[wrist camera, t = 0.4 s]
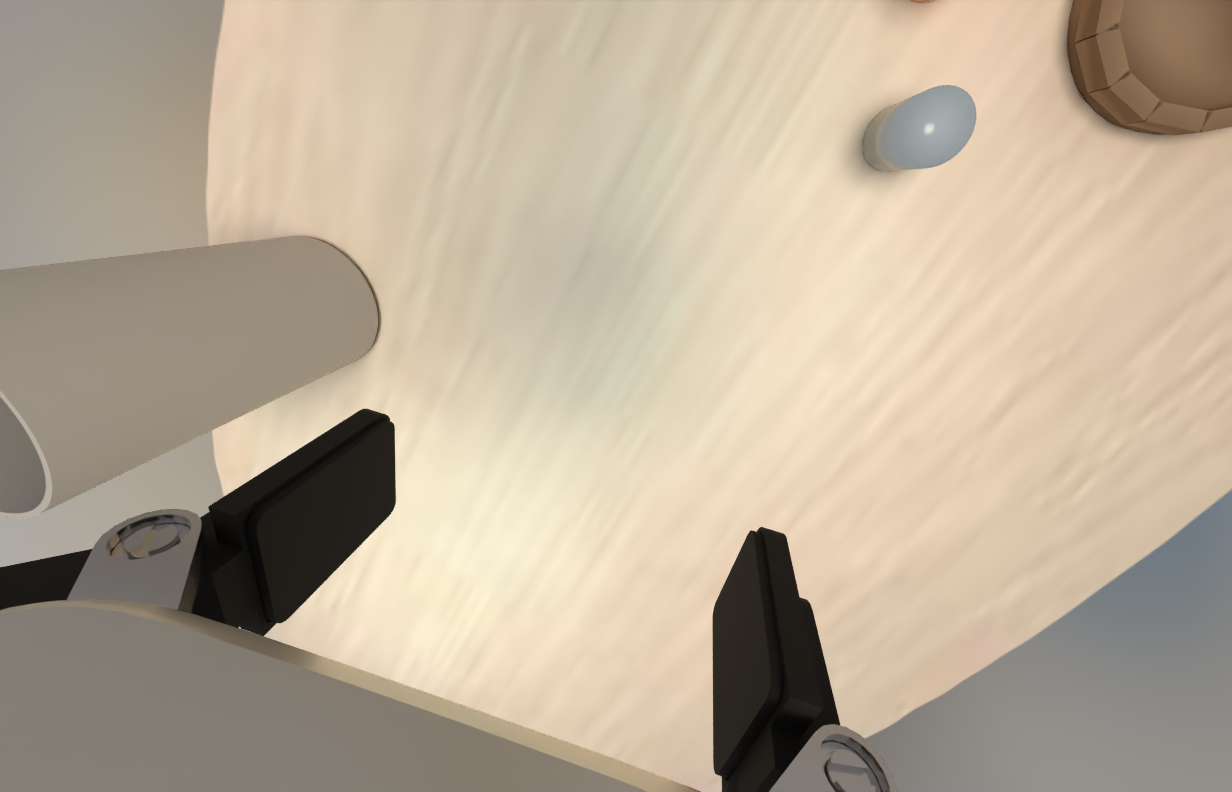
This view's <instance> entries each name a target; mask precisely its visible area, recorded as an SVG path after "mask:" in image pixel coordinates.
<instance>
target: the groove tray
mask: <svg viewBox="0 0 1232 792" xmlns="http://www.w3.org/2000/svg"><path fill="white" fill-rule="evenodd" d="M1068 55H1069V60H1070V66H1071V71H1072V74H1073V77H1074V80H1075V82H1076V85H1077V87H1078V89H1079V91H1080V92H1081V94H1082V96H1083V97H1084V99H1085V100H1086V102H1087V103H1088V104H1089V105H1090V106H1091V107H1092V108H1093V109H1094V110H1095V111H1096V112H1097V113H1098V114H1100V115H1101V116H1102V117H1104V118H1105V119H1106V120H1108V121H1110V122H1112V123H1114V124H1116V125H1118V126H1121V127H1124V128H1127V129H1131V130H1134V131H1138V132H1146V133H1154V134H1162V133H1166V134H1171V135H1179V134H1188V133H1197V132H1204V131H1209V130H1215V129H1220V128H1226V127H1231V126H1232V0H1074V2H1073V7H1072V11H1071V15H1070V23H1069V32H1068Z"/></svg>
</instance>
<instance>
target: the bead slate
mask: <svg viewBox="0 0 1232 792" xmlns="http://www.w3.org/2000/svg"><path fill="white" fill-rule="evenodd" d="M975 122H976V108H975V104H974V101H973V99H972V98H971V96H970V95H969V94H968V93H967V92H966V91H965V90H963V89H961V88H959V87H956V86H952V85H942V86H937V87H933V88H931V89H928V90H926V91H924V92H922V93H919V94H917V95H915V96H913V97H911V98H908V99H906V100H904V101H902V102H899V103H897V104H895V105H893V106H891V107H888V108H887V109H885V110H883V111H882V112H880V113H879V114H878V115H877V116H876V117H875V118H874V119H873V120H872V121H871V123H870V124H869V126H868V127H867V130H866V132H865V134H864V138H863V144H862V148H863V154H864V157H865V159H866V161H867V162H868V164H869V165H870V166H871V167H873V168H875V169H877V170H879V171H885V172H889V171H900V170H911V169H922V168H931V167H935V166H938V165H941V164H943V163H945V162H947V161H948V160H950V159H952V158H953V157H954V156H955V155H957V154H958V153H959V152H960V151H961V150H962V148H963V147H964V146H965V145H966V143H967V142H968V140H969V139H970V137H971V135H972V132H973V130H974V127H975Z"/></svg>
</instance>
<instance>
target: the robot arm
mask: <svg viewBox="0 0 1232 792" xmlns="http://www.w3.org/2000/svg"><path fill="white" fill-rule="evenodd" d="M395 502H396V488H395V428H394V424H393V423H392V422H390V418H389V417H388V416H387V415H386V414H382V413H379V412H376V411H372V410H369V409H362V410H360V411H358V412H357V413H355V414H354V415H352V416H350V417H349V418H347V419H346V420H344V421H343V422H341V423H339V424H338V425H336V426H335V427H333V428H332V429H330V430H328V431H327V432H325V433H324V434H322V435H321V436H319V437H317V438H316V439H314V440H313V441H311V442H309V443H308V444H306V445H305V446H303V447H302V448H300V449H298V450H297V451H295V452H294V453H292V454H291V455H289V456H287V457H286V458H284V459H283V460H281V461H280V462H278V463H276V464H275V465H273V466H272V467H270V468H269V469H267V470H265V471H264V472H262V473H261V474H259V475H258V476H256V477H254V478H253V479H251V480H250V481H248V482H247V483H245V484H243V485H242V486H240V487H239V488H237V489H235V490H234V491H232V492H231V493H229V494H228V495H226V496H224V497H223V498H221V499H220V500H218V501H217V502H215V503H213V504H212V505H210V506H209V511H210V512H209V513H207V514H205V515H204V516H202V517H201V518H199V517H198V515H197V514H195V513H193V512H190V511H188V510H180V509H165V510H158V511H153V512H148V513H144V514H141V515H138V516H136V517H133V518H130V519H127V520H126V521H124V522H122V523H120V524H118V525H116V526H114V527H113V528H111V529H110V530H109V531H107V532H106V533H105V534H103V535H102V536H101V538H100V539H99V540H98V542H97V543H96V544H95V546H94V548H93V549H90V550H85V551H80V552H75V553H70V554H65V555H60V556H55V557H50V558H46V559H40V560H35V561H30V562H26V563H20V564H15V565H10V566H6V567H0V792H700V791H698V790H695V789H693V788H691V787H688V786H686V785H683V784H680V783H678V782H675V781H672V780H670V779H667V778H664V777H662V776H659V775H656V774H654V773H651V772H648V771H646V770H643V769H640V768H638V767H635V766H632V765H630V764H627V763H624V762H622V761H619V760H616V759H614V758H611V757H608V756H605V755H602V754H600V753H597V752H594V751H591V750H588V749H586V748H583V747H580V746H577V745H574V744H571V743H569V742H566V741H563V740H560V739H557V738H555V737H552V736H549V735H546V734H543V733H540V732H538V731H535V730H532V729H529V728H526V727H524V726H521V725H518V724H515V723H512V722H509V721H507V720H504V719H501V718H498V717H495V716H492V715H490V714H487V713H484V712H481V711H478V710H475V709H472V708H470V707H467V706H464V705H461V704H458V703H455V702H452V701H450V700H447V699H444V698H441V697H438V696H435V695H432V694H429V693H427V692H424V691H421V690H418V689H415V688H412V687H409V686H406V685H404V684H401V683H398V682H395V681H392V680H389V679H386V678H383V677H381V676H378V675H375V674H372V673H369V672H366V671H363V670H360V669H357V668H354V667H351V666H349V665H346V664H343V663H340V662H337V661H334V660H331V659H328V658H325V657H322V656H319V655H316V654H313V653H311V652H308V651H305V650H302V649H299V648H296V647H293V646H290V645H287V644H284V643H281V642H278V641H275V640H272V639H270V638H267V637H264V635H265V634H266V633H267V632H268V631H269V630H270V629H271V628H272V627H273V626H274V625H275V624H276V623H282V622H284V621H286V620H287V619H288V618H289V617H290V616H291V615H292V614H293V613H294V612H295V611H296V610H297V609H298V608H299V607H300V606H301V605H302V604H303V603H304V602H305V601H306V600H307V599H308V598H309V597H310V596H311V595H312V594H313V593H314V592H315V591H316V590H317V589H318V588H319V587H320V586H321V585H322V584H323V583H324V582H325V581H326V580H327V579H328V577H329V576H330V575H331V574H332V573H333V572H334V571H335V570H336V569H337V568H338V567H339V566H340V565H341V564H342V563H343V562H344V561H345V560H346V559H347V558H348V557H349V556H350V555H351V554H352V553H353V552H354V551H355V550H356V549H357V548H358V547H359V546H360V545H361V544H362V543H363V542H364V541H365V540H366V539H367V538H368V537H369V536H370V535H371V534H372V533H373V532H374V531H375V530H376V529H377V528H378V526H379V525H380V524H381V523H382V522H383V521H384V520H385V519H386V518H387V517H388V516H389V515H390V514H391V512H392V511H393V509H394V507H395ZM239 626H240V627H241V629H239V628H238V627H239ZM242 629H244V630H242ZM245 630H247V631H245ZM248 631H250V632H248ZM251 632H253V633H251ZM254 633H256V634H254ZM257 634H259V635H257ZM713 762H714V771H715V774H717V775H720V776H722V792H899V790H898V787H897V784H896V781H895V779H894V776H893V774H892V772H891V771H890V769H889V767H888V765H887V764H886V762H885V760H884V759H883V758H882V756H881V755H880V754H879V753H878V752H877V751H876V749H875V748H874V747H873V746H872V745H871V744H870V743H869V742H867V741H866V740H865V739H864V738H863V737H862V736H860V735H859V734H858V733H856V732H854V731H852V730H850V729H849V728H847V727H844V726H840V722H839V718H838V714H837V709H836V705H835V701H834V697H833V693H832V689H831V685H830V681H829V676H828V672H827V668H826V664H825V660H824V656H823V652H822V647H821V643H820V639H819V635H818V631H817V627H816V623H815V619H814V614H813V610H812V608H811V605H810V603H809V602H808V600H806V599H803V598H800V597H799V593H798V589H797V584H796V580H795V575H794V570H793V566H792V561H791V557H790V552H789V547H788V543H787V538H786V536H785V534H783V533H780V532H776V531H773V530H770V529H766V528H763V527H760V528H759V529H758V530H757V532H755V531H750V532H749V533H748V535H747V537H746V540H745V542H744V544H743V546H742V548H741V550H740V552H739V554H738V556H737V559H736V561H735V563H734V565H733V567H732V569H731V571H730V573H729V575H728V578H727V580H726V582H725V584H724V586H723V588H722V590H721V592H720V594H719V597H718V599H717V601H716V603H715V606H714V611H713Z"/></svg>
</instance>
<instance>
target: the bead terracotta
mask: <svg viewBox="0 0 1232 792" xmlns="http://www.w3.org/2000/svg"><path fill="white" fill-rule="evenodd" d="M911 1H914V2H917V3H927V2H932V1H935V0H911Z"/></svg>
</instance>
